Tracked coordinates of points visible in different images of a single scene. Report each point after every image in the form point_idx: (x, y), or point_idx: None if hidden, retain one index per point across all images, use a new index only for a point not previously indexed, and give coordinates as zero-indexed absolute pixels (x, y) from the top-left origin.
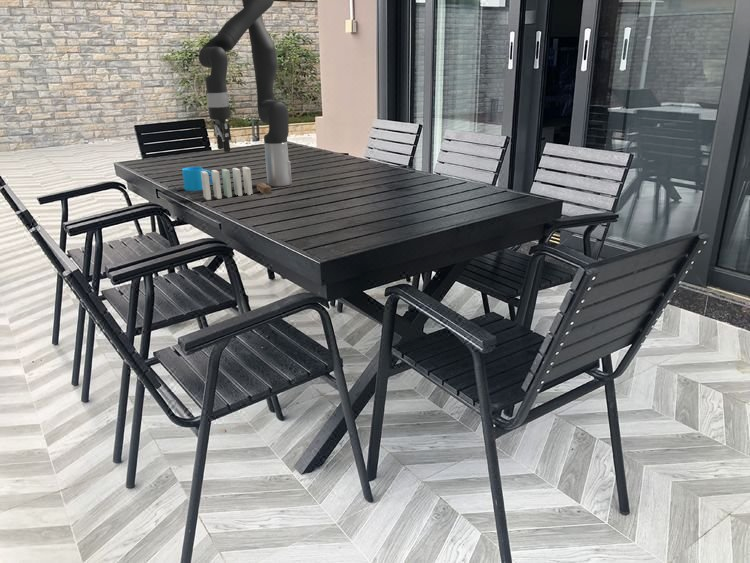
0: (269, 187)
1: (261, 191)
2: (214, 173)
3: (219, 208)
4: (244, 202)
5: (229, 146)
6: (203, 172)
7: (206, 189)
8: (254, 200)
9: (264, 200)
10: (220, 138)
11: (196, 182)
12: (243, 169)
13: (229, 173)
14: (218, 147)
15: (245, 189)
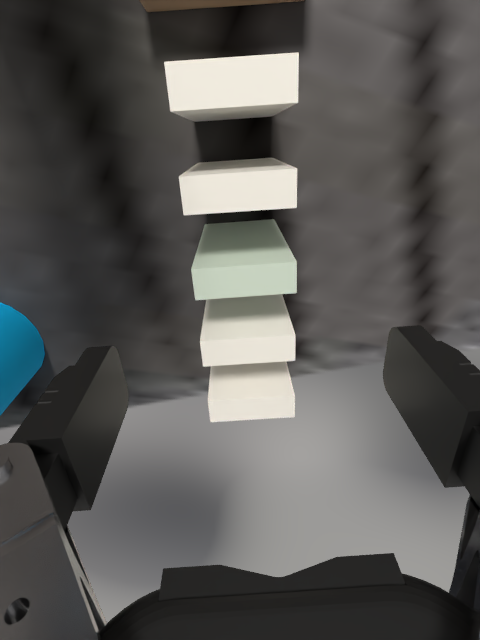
0: None
1: (249, 2)
2: (284, 355)
3: (462, 316)
4: (434, 188)
5: (451, 361)
6: (261, 414)
7: None
8: (427, 122)
9: (470, 60)
10: (58, 477)
11: (21, 360)
12: (203, 110)
13: (293, 257)
14: (125, 412)
15: (216, 119)
